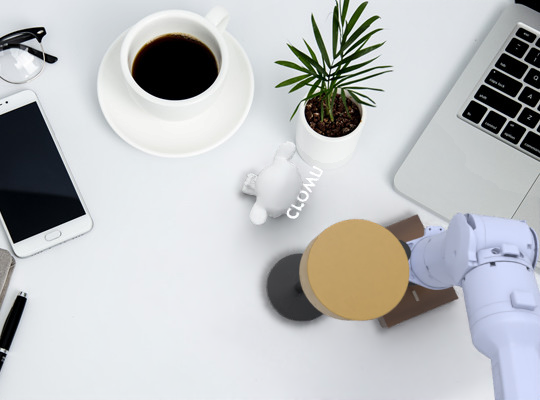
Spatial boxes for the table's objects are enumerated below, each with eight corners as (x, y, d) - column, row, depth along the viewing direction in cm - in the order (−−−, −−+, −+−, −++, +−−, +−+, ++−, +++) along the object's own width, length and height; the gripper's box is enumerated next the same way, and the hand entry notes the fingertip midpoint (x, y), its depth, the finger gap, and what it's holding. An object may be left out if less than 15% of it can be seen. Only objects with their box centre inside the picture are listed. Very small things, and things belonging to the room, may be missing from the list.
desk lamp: (343, 305, 83) (510, 292, 36) (271, 335, 82) (343, 361, 35) (316, 244, 84) (440, 153, 37) (245, 273, 84) (280, 218, 37)
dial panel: (450, 299, 82) (459, 298, 79) (382, 327, 82) (388, 328, 79) (410, 217, 84) (418, 213, 81) (344, 244, 84) (348, 242, 81)
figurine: (233, 225, 87) (298, 249, 83) (214, 208, 80) (285, 233, 75) (265, 150, 89) (331, 170, 85) (250, 126, 82) (321, 146, 77)
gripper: (520, 221, 64) (468, 237, 77) (379, 218, 65) (352, 234, 78) (525, 289, 63) (471, 294, 76) (381, 285, 63) (353, 290, 77)
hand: (411, 268), depth 77 cm, fingers open, 7 cm apart
